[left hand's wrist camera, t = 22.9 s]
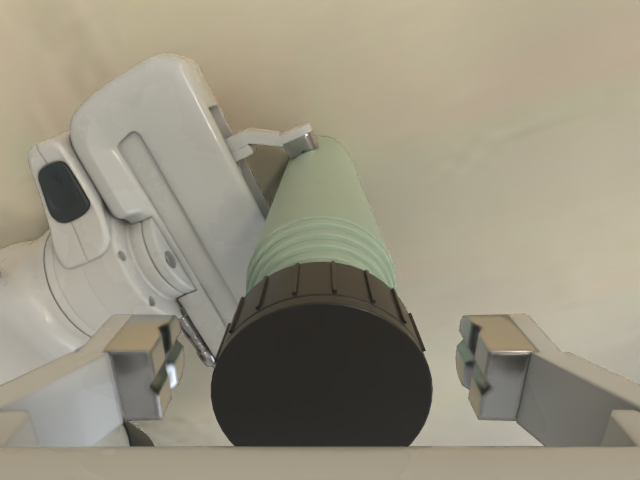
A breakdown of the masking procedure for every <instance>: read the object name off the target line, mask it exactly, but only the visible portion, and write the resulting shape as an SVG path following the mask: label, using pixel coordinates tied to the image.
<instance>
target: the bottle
mask: <svg viewBox="0 0 640 480" xmlns="http://www.w3.org/2000/svg"><path fill="white" fill-rule="evenodd" d="M316 140H317V142H318V147H317V148H315V149H313V150H311V151H308V152H305V151H303V152H302V154H301V155H299V156H298V157H295V158H293V159H291V160H290V159H289V161H288V164H287V167H286V169H285V172H284V174H283V177H282V179H281V182H280V185H279V187H278V190H277V192H276V195H275V197H274V200H273V203H272V205H271V208H270V210H269V213H268V215H267V218H266V221H265V223H264V226H263V228H262V231H261V233H260V236H259V239H258V241H257V244H256V246H255V249H254V251H253V254H252V257H251V259H250V262H249V265H248V269H247V273H246V294H247V293H248V292H249V291H250V290H251V289H252V288H253V287H254V286H255V285H256V284H258V283H259V282H260V281H262V280H263V278H264V276H266V275H267V276H269V275H271V274H273V273H275V272H277V271H279V270H282V269H284V268H287V267H290V266H294V265H295V264H296V263H299V264H302V263H308V262H331V261H335V263H341V264H346V265H350V266H353V267H356V268H359V269H362V270H364V271H365V269H366V270H368V271H369V273H370V274H372V275H374V276H375V277H377V278H378V279H380V280H382V281H383V282H384V283H385V284H386V285H388V286H389V287H390V288H391V289H392V288H394V289H395V290H397V288H396V272H395V268H394V264H393V262H392V259H391V257H390V254H389V252H388V249H387V247H386V244H385V242H384V239H383V237H382V234H381V232H380V229H379V227H378V224H377V222H376V219H375V217H374V214H373V212H372V209H371V207H370V204H369V202H368V199H367V197H366V194H365V192H364V190H363V187H362V185H361V182H360V180H359V177H358V175H357V172H356V170H355V167H354V165H353V162H352V160H351V157H350V155H349V153H348V151H347V150H346V148H345V147H344V146H343V145H342V144H341V143H339V142H338V141H336V140H335V139H332V138H329V137H324V136H316Z"/></svg>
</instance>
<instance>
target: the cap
mask: <svg viewBox="0 0 640 480" xmlns="http://www.w3.org/2000/svg"><path fill="white" fill-rule="evenodd" d="M424 351H426V350H425V347H424V345H423V342H422V340H421V337H420V335H419V332H418V330H417V327H416V325H415V322H414V319H413V317H412V314H411V313H409V314H408V312H407V310H406V307H405V306H404V304H403V303H402V301H401V300H400V298H399V297H398V296H397V293H396V290H395V289H394V288H392V289H391V288H390V287H389V286H388V285H386V284H385V283H384V282H383V281H382V280H380V279H378V278H377V277H375V276H374V275H372V274H370V273H369V271H368V270H366V269H365V271H364V270H362V269H359V268H356V267H353V266H350V265H346V264H341V263H335V261H331V262H308V263H302V264H299V263H296V264H295V265H294V266H290V267H287V268H284V269H282V270H279V271H277V272H275V273H273V274H271V275H269V276H267V275H266V276H264V278H263V280H262V281H260V282H259V283H258V284H256V285H255V286H254V287H253V288H252V289H251V290H250V291H249V292H248V293H247V294H246V295H245V297H243V296H242V297H241V298H240V301H239V304H238V306H237V309H236V312H235V314H234V316H233V319H232V322H231V323H228V326H227V328H226V331H225V334H224V336H223V339H222V342H221V344H220V347H219V349H218V352H217V355H216V357H215V361H214V362H216V366H215V369H214V372H213V376H212V382H211V399H212V405H213V410H214V413H215V416H216V419H217V421H218V423H219V425H220V427H221V429H222V431H223V432H224V434H225V435H226V436H227V438H228V439H229V441H230V442H231V443H232V444H233V445H234V446H247V447H408V446H409V445H410V444H411V443H412V442H413V441H414V439H415V438H416V437H417V436H418V434H419V433H420V431H421V429H422V428H423V426H424V424H425V422H426V419H427V417H428V414H429V411H430V407H431V403H432V392H433V388H432V378H431V374H430V370H429V366H428V364H427V361H426V358H425V356H424V353H423V352H424Z"/></svg>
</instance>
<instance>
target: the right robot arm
mask: <svg viewBox="0 0 640 480" xmlns="http://www.w3.org/2000/svg"><path fill="white" fill-rule="evenodd" d="M258 145H266V146H277V147H284V148H285V150H286V152H287V154H288V156H289V158H290V160H291V159H293V158H295V157H298V156H299V155H301V154H302V152H303V151H305V152H308V151H311V150H313V149H315V148H317V147H318V142H317V140H316V137H315V135H314V133H313V130H312V128H311V125H310V123H309V121H308V122H305V123H303V124H300V125H298V126H296V127H294V128H291V129H289V130H287V131H285V132H283V133H282V132H281V131H277V130H269V129H260V128H252V127H248V128H246V129H244V130H242V131H240V132H237V133H235V134H233V133H232V131H231V129H230V127H229V125H228V123H227V121H226V119H225V117H224V115H223V113H222V111H221V109H220V107H219V105H218V103H217V101H216V99H215V97H214V95H213V93H212V91H211V89H210V87H209V85H208V83H207V81H206V79H205V77H204V75H203V73H202V71H201V69H200V67H199V65H198V64H197V63H196V62H195V61H194V60H192V59H189V58H186V57H184V56H181V55H178V54H174V53H160V54H157V55H154V56H152V57H150V58H148V59H146V60H144V61H142V62H140V63H139V64H137V65H135V66H133V67H132V68H130V69H128V70H127V71H125V72H124V73H122V74H120V75H119V76H117V77H116V78H114V79H113V80H111V81H110V82H109V83H107V84H106V85H104V86H103V87H102V88H100V89H99V90H98V91H96V92H95V93H94V94H93V95H91V96H90V97H89V98H88V99H87V100H85V101H84V102H83V103H82V104H81V105H80V107H79V108H78V109H77V110H76V112H75V114H74V116H73V118H72V121H71V125H70V131H67V132H64V133H61V134H58V135H55V136H52V137H50V138H48V139H46V140H44V141H42V142H40V143H38V144H36V145H34V146H33V147H32V148H31V149H30V150H29V153H28V161H29V165H30V169H31V172H32V175H33V177H34V180H35V183H36V186H37V189H38V192H39V195H40V197H41V201H42V204H43V207H44V210H45V213H46V217H47V220H48V224H49V228H50V229H49V230H48V231H47V232H46V233H45V234H44V235H43V236H42V237H40V238H39V239H37V240H33V241H24V242H20V243H15V244H12V245H9V246H7V247H5V248H3V249H0V385H2V384H4V383H6V382H8V381H10V380H12V379H15V378H17V377H19V376H21V375H23V374H25V373H28V372H30V371H32V370H34V369H36V368H38V367H40V366H43V365H45V364H47V363H49V362H51V361H53V360H56V359H58V358H60V357H62V356H64V355H66V354H68V353H71V352H78V351H79V350H80V349H81V348H82V347H83V346H84V345H85V344H86V343H87V341H88V340H89V339H90V338H91V337H92V336H93V335H94V334H95V333H96V332H97V330H98V329H99V328H100V327H101V326H102V325H103V324H104V323H105V322H106V320H107V319H108V318H109V317H110V316H111V315H115V314H135V315H136V314H152V315H176V316H177V317H178V318H179V322H180V328H181V330H182V332H183V333H184V335H185V336H186V338H187V339H188V340H189V341H190V342H191V344H192V345H193V346H194V348H195V349H196V351H197V355H198V356H199V358H200V360H201V361H202V362H203V363H204V364H205V365H206V366H207V367H209V366H212V367H214V368H215V366H216V362H214V361H215V357H216V355H217V352H218V349H219V347H220V344H221V342H222V339H223V336H224V334H225V331H226V328H227V326H228V323H231V322H232V319H233V316H234V314H235V312H236V309H237V306H238V304H239V301H240V298H241V297H242V296H243V297H245V295H246V273H247V269H248V265H249V262H250V259H251V257H252V254H253V251H254V249H255V246H256V244H257V241H258V239H259V236H260V233H261V231H262V228H263V226H264V223H265V221H266V218H267V215H268V213H269V210H270V207H269V205H268V203H267V201H266V199H265V197H264V195H263V193H262V191H261V189H260V187H259V185H258V183H257V181H256V179H255V177H254V175H253V173H252V171H251V169H250V167H249V165H248V163H247V161H246V159H245V158H246V157H248V156H250V155H252V154H253V153H254V152H255V151H256V150H257V148H258ZM96 446H154V444H153V442H152V441H151V439H150V438H149V437H148V436H147V435H146V434H145V433H144V432H142V431H141V430H140V429H138V428H137V427H135V426H134V425H133V424H131V423H130V422H128V421H123V424H121V425H120V426H119V427H118V428H117V429H115V430H114V431H113V432H112V433H110V434H109V435H108V436H107V437H106V438H104V439H103V440H102V441H101V442H100V443H98V444H97V445H96Z"/></svg>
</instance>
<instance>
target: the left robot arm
mask: <svg viewBox="0 0 640 480" xmlns="http://www.w3.org/2000/svg"><path fill="white" fill-rule="evenodd" d="M180 332H181V328H180V322H179V318H178V317H177V316H176V315H152V314H136V315H135V314H115V315H111V316H110V317H109V318H108V319H107V320H106V322H105V323H104V324H103V325H102V326H101V327H100V328H99V329H98V330H97V332H96V333H95V334H94V335H93V336H92V337H91V338H90V339H89V340H88V341H87V343H86V344H85V345H84V346H83V347H82V348H81V349H80V350H79V351H78V352H71V353H68V354H66V355H64V356H62V357H60V358H58V359H56V360H53V361H51V362H49V363H47V364H45V365H43V366H40V367H38V368H36V369H34V370H32V371H30V372H28V373H25V374H23V375H21V376H19V377H17V378H15V379H12V380H10V381H8V382H6V383H4V384H2V385H0V480H640V385H638V384H636V383H634V382H632V381H630V380H627V379H625V378H623V377H621V376H619V375H617V374H614V373H612V372H610V371H608V370H606V369H604V368H602V367H599V366H597V365H595V364H593V363H591V362H589V361H587V360H584V359H582V358H580V357H578V356H576V355H574V354H572V353H569V352H562V351H561V350H560V349H559V348H558V347H557V346H556V345H555V344H554V343H553V341H552V340H551V339H550V338H549V337H548V336H547V335H546V334H545V333H544V331H543V330H542V329H541V328H540V327H539V326H538V325H537V324H536V323H535V322H534V320H533V319H532V318H531V317H530V316H529V315H526V314H503V315H466V316H462V319H461V321H460V328H459V332H460V333H461V335H462V337H463V340H462V341H461V342H460V343H459V344H458V346H457V349H456V369H457V373H458V377H459V379H460V382H461V384H462V385H463V386H464V387H466V388H467V389H469V397H468V399H469V401H470V403H471V405H472V407H473V409H474V411H475V414H476V416H477V418H478V420H503V421H517V422H516V423H518V424H519V425H520V426H521V427H522V428H524V429H525V430H526V431H527V432H529V433H530V434H531V435H532V436H533V437H535V438H536V439H537V440H538V441H539V442H541V443H542V444H543V445H544V446H436V447H247V446H96V445H97V444H98V443H100V442H101V441H102V440H103V439H104V438H106V437H107V436H108V435H109V434H110V433H112V432H113V431H114V430H115V429H117V428H118V427H119V426H120V425H121V424H123V421H136V420H162V418H163V416H164V414H165V412H166V409H167V407H168V405H169V403H170V401H171V399H172V397H171V389H173V388H174V387H176V386H177V385H178V384H179V382H180V379H181V377H182V373H183V368H184V349H183V346H182V344H181V343H180V342H179V341H178V340H177V337H178V335H179V333H180Z"/></svg>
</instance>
